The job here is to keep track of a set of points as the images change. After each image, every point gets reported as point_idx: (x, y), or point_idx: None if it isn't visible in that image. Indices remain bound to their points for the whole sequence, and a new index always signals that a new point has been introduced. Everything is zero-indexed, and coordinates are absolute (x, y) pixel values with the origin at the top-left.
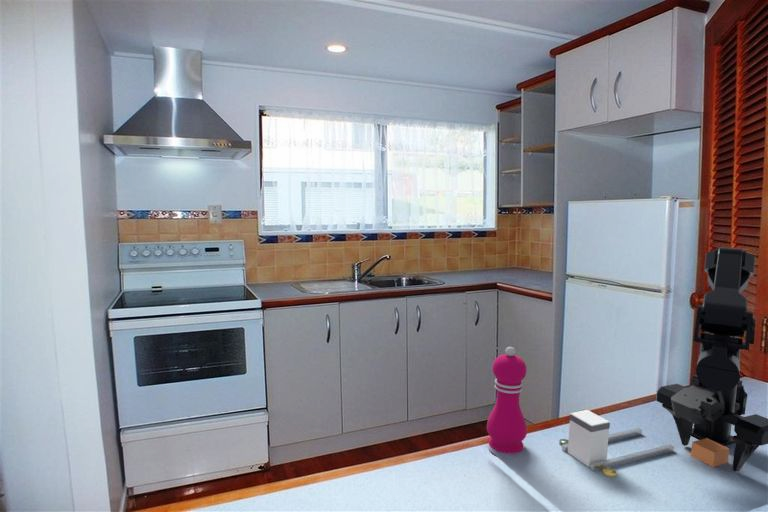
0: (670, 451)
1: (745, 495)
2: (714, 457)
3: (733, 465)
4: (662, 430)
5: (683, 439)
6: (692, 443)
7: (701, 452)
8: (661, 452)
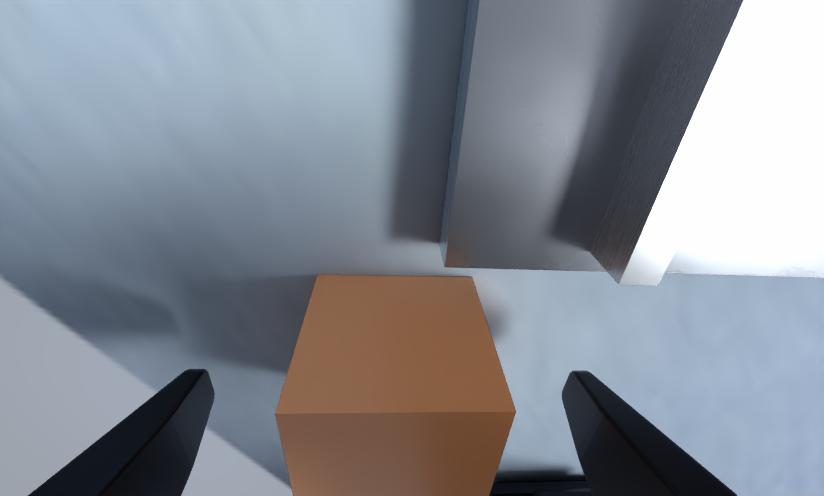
0: (610, 229)
1: (42, 232)
2: (291, 376)
3: (173, 399)
4: (726, 423)
5: (603, 407)
6: (506, 399)
7: (406, 362)
8: (666, 111)
